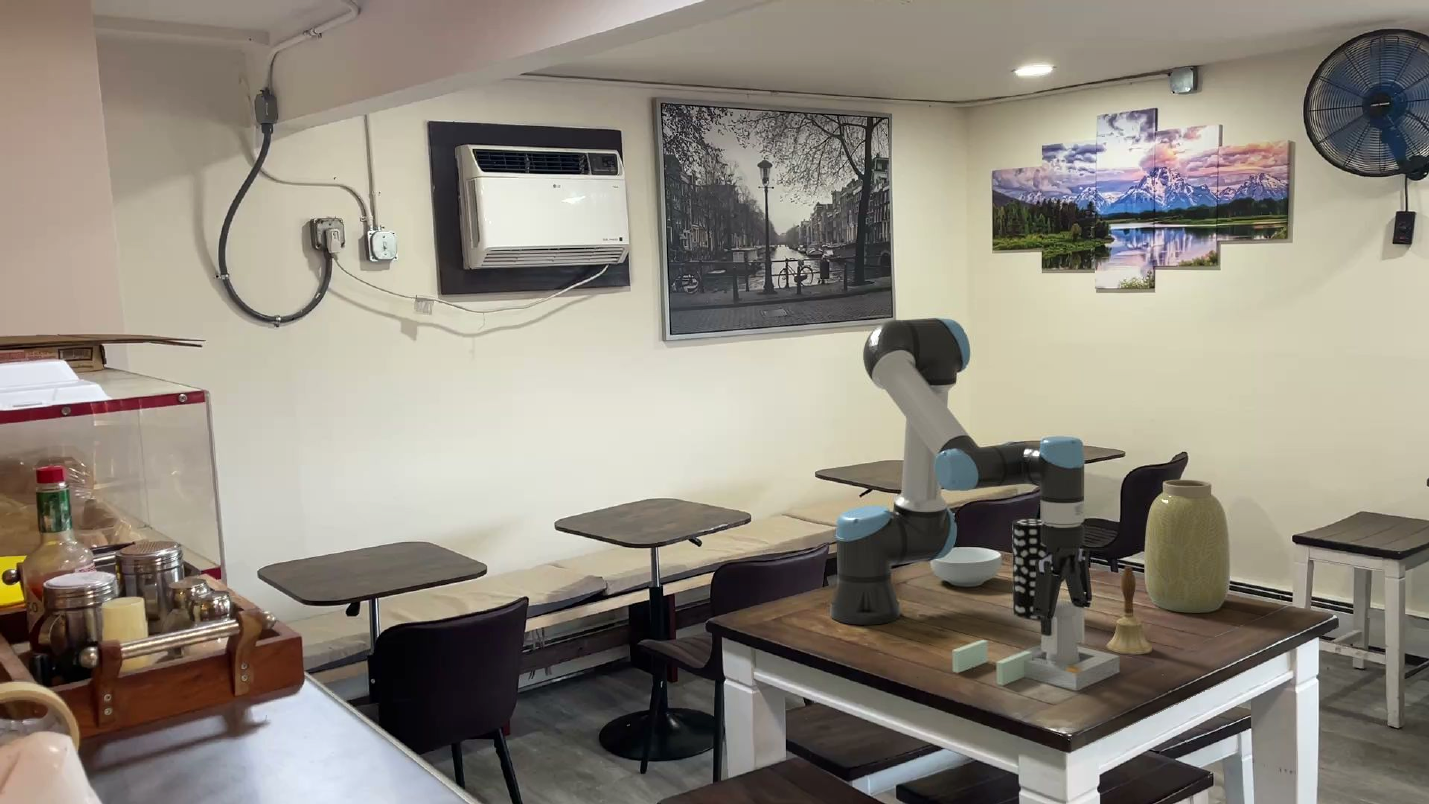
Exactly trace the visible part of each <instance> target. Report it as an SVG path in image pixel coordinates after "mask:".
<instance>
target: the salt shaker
mask: <svg viewBox="0 0 1429 804" xmlns="http://www.w3.org/2000/svg"><path fill="white" fill-rule="evenodd" d="M1074 615H1075V606H1074V604H1073V603H1072V602H1071V601H1068V600H1057V604H1056V608H1055V613H1054V617H1056V618H1057V654H1051V653H1047V656H1046V659H1047V660H1048V661H1052V662H1056V663H1060V664H1064V665H1068V666H1071V665H1075V664H1077V663H1079V662H1080V659H1079V654H1078V648H1077V646H1078V643H1077V642H1076V637H1075V632H1074V627H1073V621H1072V616H1074Z"/></svg>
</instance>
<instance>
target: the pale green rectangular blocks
mask: <svg viewBox="0 0 1429 804" xmlns="http://www.w3.org/2000/svg"><path fill="white" fill-rule="evenodd" d="M988 642H989V641H988V640H986V639H985V640H984V639H982V640H978V641H977V640H976V641H974V642H972V643H969V644H965V645H964V646H961V647H957V648H954V649H953V650H951V651H952V657H951V658H952V672H953V673H956V674H959V673H962V672H965V671H966V670H967V671H968V670H969V669H972V667H973V668H975V667H978V666H980V665H983V664H986V663H988V661H989V654H988V653H989V652H988V651H989V650H988V649H989V647H988V646H989V645H988V644H989V643H988ZM1023 651H1024V650H1023ZM1015 654H1016V653H1015ZM1029 658H1032V652H1029V651H1024V652H1022V653H1019V654H1016V655H1014V656H1011V657H1008V656H1007V657H1006V658H1003V659H1001V660H998V661H996V663H995V664H996V685H998V686H1005V685H1007V684H1010V683H1012V682H1014V681H1017V680H1020V679H1022V678H1025V677H1024V660H1027V659H1029Z"/></svg>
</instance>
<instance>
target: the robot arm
mask: <svg viewBox="0 0 1429 804" xmlns="http://www.w3.org/2000/svg"><path fill="white" fill-rule="evenodd" d="M968 337H969V336H968V335H967V333H966V332H965V330H964V328H963V326H962V325H961V324H960V323H959V322H957V321H955V320H954V319H951V318H942V317H941V318H940V317H938V318H937V317H933V318H932V317H930V318H929V317H928V318H917V319H916V318H915V319H913V318H912V319H892V320H887V321H885V322H883V323H881V324H879V325H878V326H876V327H875V328H874V329H873V330H872V331H871V333H870V334H869V335H868V337H867V339H866V341H865V342H864V346H863V351H862V359H863V365H864V369H865V372H866V374H867V375H868V376H869V378H870V379H871V381H872V383H873V384H874V385H875V386H876V387H877V388H879V389H881V390H885V392H886V393H887V394H888V395H889V397H890V398H891V399H892V401H893V402H894V404H895V405H896V406H897V407H898V409H899V410H900V412H901V413H902V414H903V416H905V430H904V431H905V432H904V449H903V462H902V475H901V476H902V478H901V479H902V480H901V481H902V482H901V491H900V492H901V493H899V494H898V495H897V496H896V497H895V498H894V499H893V510H892V511H890V509H889V508H888V507H886V506H882V505H869V506H868V505H866V506H865V505H864V506H860V507H859V506H858V507H854V508H851V509H849V510H845V511H844V512H842V513H841V514H840V515H839V516H838V518H837V520H836V527H835V528H836V529H835V538H836V563H837V582H836V584H835V589H834V592H833V596H832V601H831V603H830V604H829V605H830V609H829V612H830V618H832V619H834V620H835V621H836V622H837V621H838V622H842V623H845V624H849V625H850V624H851V625H862V626H863V625H864V626H865V625H867V626H868V625H882V624H887V623H891V622H893V621H896V620H898V619H899V618H900V617H901V606H900V602H899V601H898V599H897V594H896V592H895V589H894V586H893V582H892V581H893V580H892V566H897V565H904V564H911V563H921V562H930V561H932V560H934V559H939V558H943V557H945V556H946V555H947V554H948V553H949V552H950V551H951V550H952V548H954V545H955V543H956V539H957V534H958V533H957V531H958V530H957V529H958V527H957V523H956V522H955V520H956V519H955V518H956V517H955V515H954V513H953V511H951V510H950V509H949V508H948V502H947V501H946V500H945V499H944V498H943V496H942V489H944V490H946V491H950V492H951V491H953V492H954V491H961V492H963V491H966V492H968V491H972V490H977V489H978V490H979V489H987V488H994V487H995V488H997V487H1006V486H1007V487H1008V486H1018V485H1030V486H1034V487H1035V486H1036V487H1040V506H1039V507H1040V510H1039V511H1040V515H1039V516H1040V518H1039V519H1040V520H1041V521H1042V522H1044V523H1043V524H1042V525H1041V543H1042V544H1043V545H1045V546H1046V548H1047V552H1046V555H1045V559H1043V560H1039V559H1037V560H1036V561H1035V567H1036V580H1035V590H1034V601H1033V614H1034V615H1037V616H1040V617H1041V619H1040V633H1041V635H1040V636H1041V637H1040V638H1041V644H1042V651H1043V652H1047V653H1051V654H1057V618H1056V617H1054V613H1055V608H1056V604H1057V601H1059V600H1058V599H1059V595H1060V590H1061V586H1062V583H1063V582H1065V584H1066V588H1067V591H1068V594H1069V599H1070V602H1071V603H1073V604H1074V606H1075V615H1074V616H1072V621H1073V627H1074V632H1075V637H1076V643H1077V644H1085V608H1088V609H1089V608H1090V607H1091V601H1092V600H1093V594H1092V592H1093V591H1092V584H1091V575H1090V566H1089V565H1090V563H1089V559H1090V550H1089V549H1086V548H1085V549H1084V548H1080V547H1082V546H1083V545H1085V526H1084V524H1083V522H1085V511H1086V509H1085V503H1084V502H1085V463H1086V459H1085V451H1084V442H1083V441H1082V440H1081V439H1080V438H1078V437H1074V436H1048V437H1043V438H1042V439H1041V440H1040V445H1039V444H1033V443H1029V442H1026V441H1021V440H1020V441H1008V442H1004V443H1003V444H1002V445H994V446H979V445H978V444H977V443H976V442H975V440H974V439H973V437H971V436H970V434H969V433H968V432H967V431H966V429H965V428H964V426H962V424H961V423H960V421H958V419H957V418H956V417H955V416H954V414H953V413H952V412H951V410H950V409H949V408H948V403H949V391H950V390H951V389H952V388H953V387H955V385H956V384H957V380H958V379H957V378H958V373H961V372H963V371H965V370H966V368H967V366H969V363H970V361H971V360H970V358H971V347H970V346H971V345H970V341H969V338H968ZM1052 573H1053V575H1052ZM1048 610H1049V611H1048Z"/></svg>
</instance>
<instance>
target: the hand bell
mask: <svg viewBox="0 0 1429 804" xmlns="http://www.w3.org/2000/svg"><path fill="white" fill-rule="evenodd" d="M1120 582H1121V583H1120V584H1121V585H1120V586H1121V591H1122V595H1123V600H1124V604H1123V605H1124V607H1123V612H1124V613H1123V616H1122V617H1121V618H1119V619H1117V621H1116V626H1115V631H1114V635H1113V637H1112V638H1111V640H1110V641H1108V642H1107V644H1106V649H1107V650H1109V651H1111V652H1113V653H1117V654H1122V655H1132V656H1134V655H1135V656H1136V655H1144V654H1145V655H1146V654H1149V653H1152V652H1153V647H1152V645H1151V644H1150V643H1149V642H1148V641H1147V639H1146V638H1145V635H1144V631H1143V627H1142V622H1141V621H1140V620H1139V619H1138V618H1136V617H1135V616H1134V597H1135V592H1136V588H1137V587H1136V586H1137V585H1136V576H1135V574H1134V571H1133V567H1132V566H1124V569H1123V572H1122V575H1121V581H1120Z"/></svg>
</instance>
